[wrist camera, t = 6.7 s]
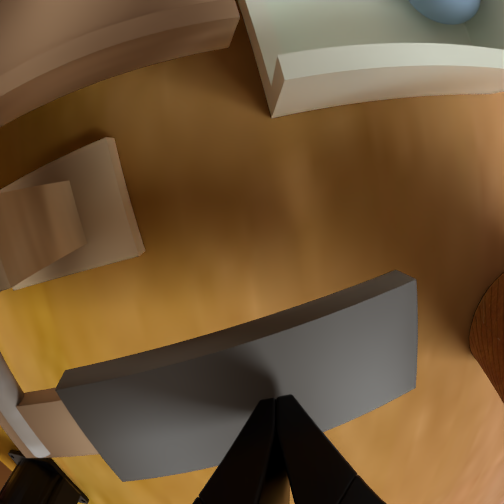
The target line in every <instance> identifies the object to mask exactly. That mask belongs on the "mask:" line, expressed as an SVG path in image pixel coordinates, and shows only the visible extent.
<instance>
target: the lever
mask: <svg viewBox="0 0 504 504" xmlns="http://www.w3.org/2000/svg"><path fill="white" fill-rule="evenodd" d="M239 18H240V15H239V12H238V8H237V5H236V2H235V0H0V127H2V126H3V125H5V124H7V123H9V122H11V121H13V120H14V119H16V118H18V117H20V116H22V115H24V114H26V113H28V112H30V111H32V110H34V109H36V108H38V107H40V106H42V105H44V104H46V103H49V102H51V101H53V100H55V99H58V98H60V97H62V96H64V95H67V94H69V93H71V92H74V91H76V90H79V89H81V88H84V87H86V86H89V85H92V84H94V83H97V82H100V81H102V80H105V79H108V78H111V77H114V76H117V75H120V74H123V73H126V72H129V71H132V70H135V69H139V68H142V67H146V66H149V65H153V64H156V63H160V62H164V61H168V60H171V59H176V58H180V57H184V56H188V55H193V54H197V53H202V52H207V51H212V50H218V49H223V48H229V45H230V42H231V40H232V37H233V34H234V32H235V29H236V26H237V24H238V21H239ZM417 343H418V312H417V283H416V279H415V278H413V277H410V276H408V275H406V274H404V273H402V272H400V271H398V270H394V271H391V272H389V273H386V274H384V275H381V276H379V277H376V278H373V279H371V280H368V281H366V282H363V283H360V284H358V285H355V286H352V287H349V288H347V289H344V290H341V291H339V292H336V293H333V294H330V295H327V296H325V297H322V298H319V299H316V300H313V301H310V302H308V303H305V304H302V305H299V306H296V307H293V308H290V309H287V310H284V311H281V312H278V313H275V314H272V315H269V316H266V317H263V318H259V319H256V320H253V321H250V322H247V323H244V324H240V325H237V326H234V327H231V328H227V329H224V330H221V331H217V332H214V333H210V334H207V335H204V336H200V337H197V338H193V339H190V340H186V341H183V342H179V343H175V344H172V345H168V346H164V347H161V348H157V349H153V350H149V351H145V352H141V353H137V354H133V355H129V356H125V357H121V358H117V359H113V360H109V361H105V362H100V363H96V364H92V365H87V366H83V367H78V368H74V369H69V370H65V372H64V374H63V375H62V377H61V379H60V381H59V383H58V385H57V387H56V388H51V389H46V390H40V391H33V392H27V393H23V391H22V389H21V388H20V386H19V384H18V383H17V381H16V379H15V378H14V376H13V374H12V373H11V371H10V369H9V367H8V365H7V364H6V362H5V360H4V358H3V356H2V354H1V352H0V425H1V427H2V428H3V429H4V431H5V432H6V434H7V435H8V436H9V437H10V439H11V440H12V441H13V443H14V444H15V445H16V446H17V448H18V449H19V450H20V451H21V452H22V454H23V455H24V456H25V457H26V458H52V457H71V456H84V455H94V454H100V455H101V457H102V458H103V459H104V460H105V462H106V463H107V464H108V465H109V466H110V468H111V469H112V470H113V471H114V472H115V474H116V475H117V476H118V477H119V478H120V479H121V480H122V482H125V481H134V480H142V479H150V478H157V477H163V476H169V475H175V474H181V473H186V472H191V471H196V470H201V469H205V468H210V467H214V466H218V465H219V464H220V463H221V461H222V460H223V458H224V457H225V455H226V454H227V452H228V450H229V449H230V447H231V446H232V444H233V443H234V441H235V439H236V438H237V436H238V435H239V433H240V431H241V430H242V428H243V427H244V425H245V423H246V422H247V420H248V418H249V417H250V415H251V414H252V412H253V410H254V409H255V407H256V405H257V403H258V402H259V401H260V400H262V399H267V398H276V399H277V397H279V396H283V395H288V394H292V395H293V396H294V397H295V398H296V399H297V401H298V402H299V403H300V405H301V406H302V407H303V408H304V410H305V411H306V412H307V413H308V415H309V416H310V417H311V418H312V420H313V421H314V422H315V423H316V425H317V426H318V427H319V428H320V429H321V431H322V432H324V431H327V430H329V429H332V428H334V427H337V426H339V425H341V424H344V423H346V422H348V421H350V420H353V419H355V418H357V417H359V416H361V415H364V414H366V413H368V412H370V411H372V410H374V409H376V408H378V407H380V406H382V405H384V404H386V403H388V402H390V401H392V400H394V399H396V398H398V397H400V396H401V395H403V394H405V393H407V392H409V391H411V390H412V389H414V388H416V372H417Z"/></svg>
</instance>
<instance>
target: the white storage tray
mask: <svg viewBox="0 0 504 504" xmlns="http://www.w3.org/2000/svg"><path fill="white" fill-rule="evenodd" d="M238 4H239V7H240V10H241V13H242V16H243V19H244V23H245V26H246V29H247V33H248V36H249V39H250V43H251V46H252V49H253V53H254V56H255V60H256V63H257V67H258V70H259V74H260V77H261V81H262V84H263V88H264V92H265V95H266V99H267V103H268V107H269V110H270V114H271V118H275V117H280V116H285V115H290V114H295V113H300V112H305V111H310V110H316V109H322V108H328V107H334V106H340V105H347V104H354V103H361V102H369V101H377V100H386V99H396V98H406V97H419V96H434V95H456V94H493V93H498V92H504V0H481V2H480V7H479V9H478V11H477V13H476V14H475V15H474V16H473V17H472V18H471V19H470V20H468V21H466V22H464V23H461V24H455V25H448V24H442V23H438V22H435V21H433V20H431V19H429V18H427V17H425V16H424V15H422V14H421V13H420V12H418V11H417V10H416V9H415V8H414V7H413V6H412V5H411V3H410V2H409V0H238Z"/></svg>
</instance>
